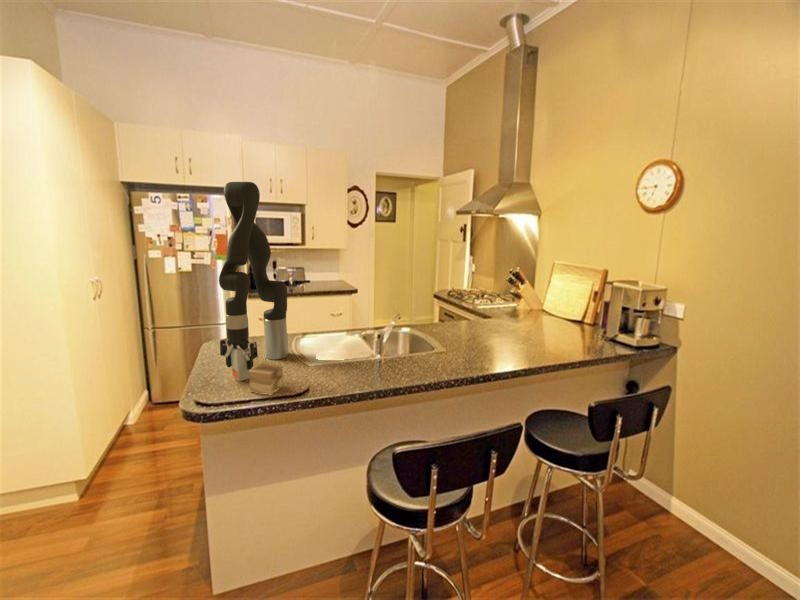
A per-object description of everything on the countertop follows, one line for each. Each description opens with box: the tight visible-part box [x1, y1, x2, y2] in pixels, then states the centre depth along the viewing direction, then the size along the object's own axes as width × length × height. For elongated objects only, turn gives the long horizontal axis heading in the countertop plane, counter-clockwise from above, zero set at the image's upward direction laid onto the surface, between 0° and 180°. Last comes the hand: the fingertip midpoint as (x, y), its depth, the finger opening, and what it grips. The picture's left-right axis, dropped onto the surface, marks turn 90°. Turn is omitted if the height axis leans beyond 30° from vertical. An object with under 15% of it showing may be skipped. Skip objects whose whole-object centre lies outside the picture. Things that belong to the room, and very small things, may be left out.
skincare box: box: [231, 348, 250, 382], centre depth 149 cm, size 6×4×12 cm
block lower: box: [249, 376, 284, 394], centre depth 140 cm, size 8×8×4 cm
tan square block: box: [248, 363, 284, 385], centre depth 139 cm, size 8×8×4 cm
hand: (239, 367), depth 149 cm, fingers open, 8 cm apart
